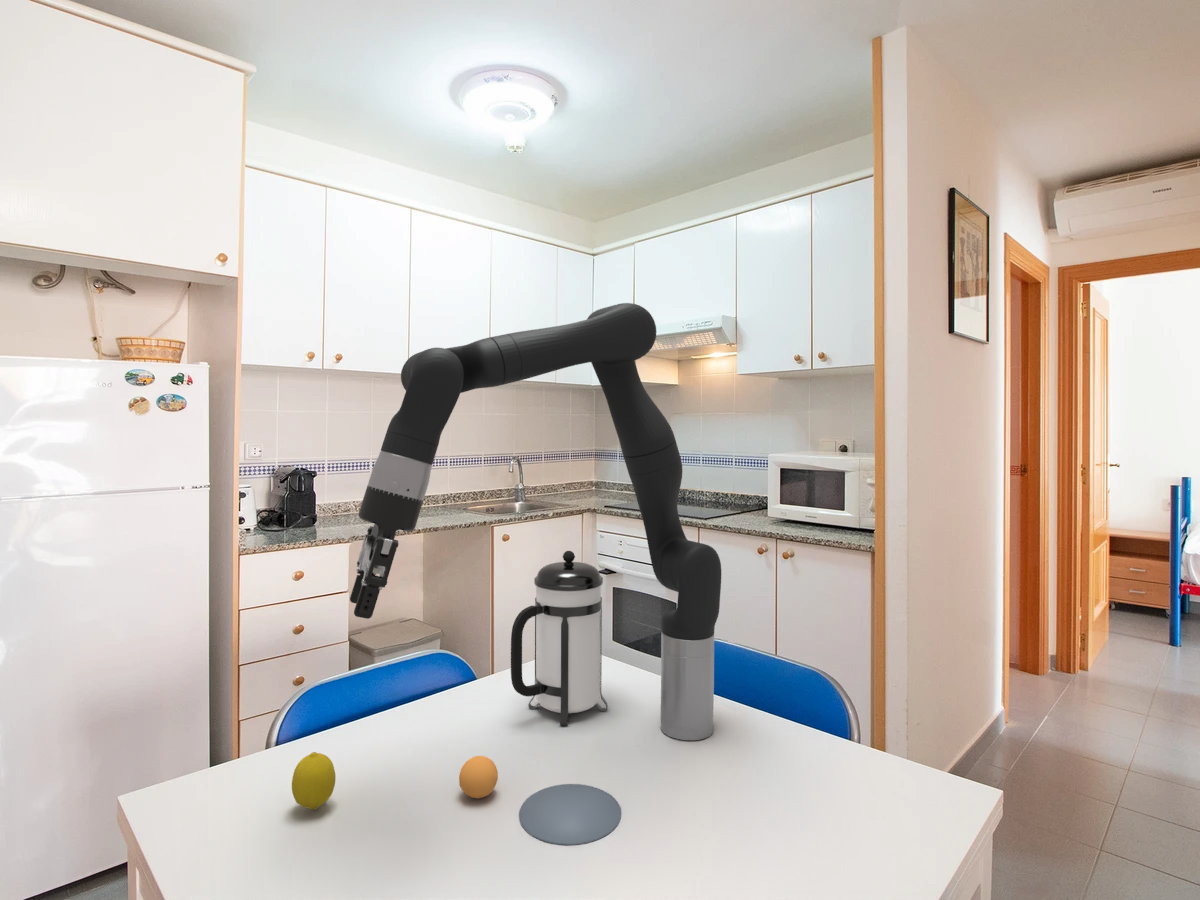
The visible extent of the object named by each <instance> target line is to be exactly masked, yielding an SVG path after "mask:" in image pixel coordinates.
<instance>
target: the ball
mask: <svg viewBox="0 0 1200 900" xmlns="http://www.w3.org/2000/svg"><path fill="white" fill-rule="evenodd" d="M498 779H499V771H498V768H497V765H496V764H495V762H494V761H493V760H492V759H491V758H489V757H488V756H485V755H476V756H472V757H471V758H469V759H468V760H466V761H465V762H464V763H463V765H462V766H461V769H460V771H459V775H458V783H459V786H460V788H461V791H462V792H463V793H464V794H465V795H466V796H467V797H470V798H472V799H481V798H484V797H487V796H488V795H489V794H491V793H492V792H493V791H494V789H495V787H496V785H497V783H498Z"/></svg>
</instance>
